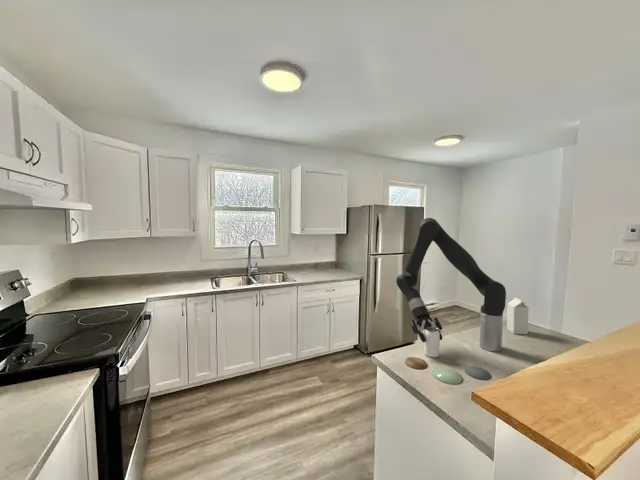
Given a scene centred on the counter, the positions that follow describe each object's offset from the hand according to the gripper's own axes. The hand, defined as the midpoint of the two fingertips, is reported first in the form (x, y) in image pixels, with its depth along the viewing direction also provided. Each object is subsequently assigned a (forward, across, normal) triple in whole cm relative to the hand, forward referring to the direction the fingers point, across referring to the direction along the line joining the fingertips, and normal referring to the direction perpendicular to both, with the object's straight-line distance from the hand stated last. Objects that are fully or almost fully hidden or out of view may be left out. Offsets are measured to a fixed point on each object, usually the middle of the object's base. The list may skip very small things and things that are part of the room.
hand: (432, 340), depth 125 cm
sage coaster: (+17, -6, -6) cm, 19 cm away
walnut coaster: (+8, -12, +2) cm, 15 cm away
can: (+4, 0, +6) cm, 7 cm away
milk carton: (-4, +63, +13) cm, 65 cm away
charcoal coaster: (+18, +8, -7) cm, 21 cm away
